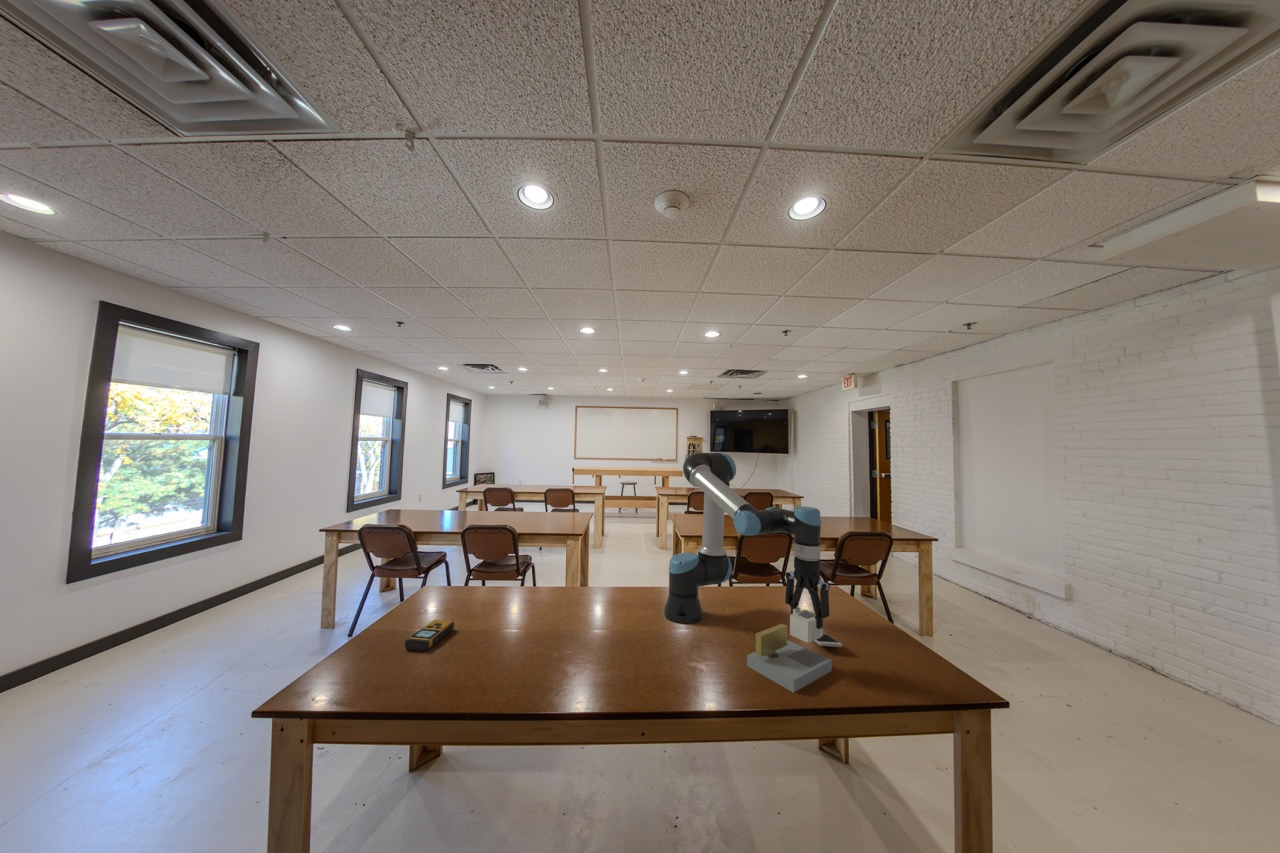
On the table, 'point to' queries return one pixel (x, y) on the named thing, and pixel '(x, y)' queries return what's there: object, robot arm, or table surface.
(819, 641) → the smartphone
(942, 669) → the table surface
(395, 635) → the table surface
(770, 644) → the yellow rectangular block
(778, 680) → the housing
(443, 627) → the electronic device
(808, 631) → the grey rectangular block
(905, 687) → the table surface
